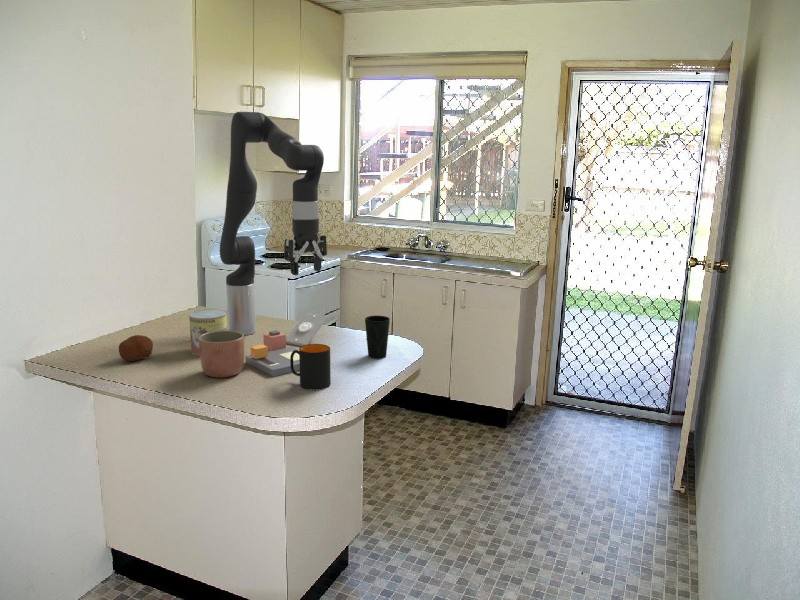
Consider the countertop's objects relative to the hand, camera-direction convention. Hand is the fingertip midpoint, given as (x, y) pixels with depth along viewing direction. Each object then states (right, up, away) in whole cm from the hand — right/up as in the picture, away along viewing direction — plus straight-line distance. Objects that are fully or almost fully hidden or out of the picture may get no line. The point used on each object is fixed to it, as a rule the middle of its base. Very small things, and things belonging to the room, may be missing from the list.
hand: (306, 272), depth 195 cm
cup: (+20, -25, +14) cm, 35 cm away
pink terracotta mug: (-23, -29, -3) cm, 37 cm away
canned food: (-33, -24, +17) cm, 44 cm away
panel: (-8, -27, +5) cm, 28 cm away
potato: (-52, -26, +8) cm, 59 cm away
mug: (+2, -31, -11) cm, 33 cm away
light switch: (-4, -22, +30) cm, 37 cm away
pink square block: (-12, -24, +16) cm, 32 cm away
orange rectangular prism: (-14, -25, +4) cm, 29 cm away
